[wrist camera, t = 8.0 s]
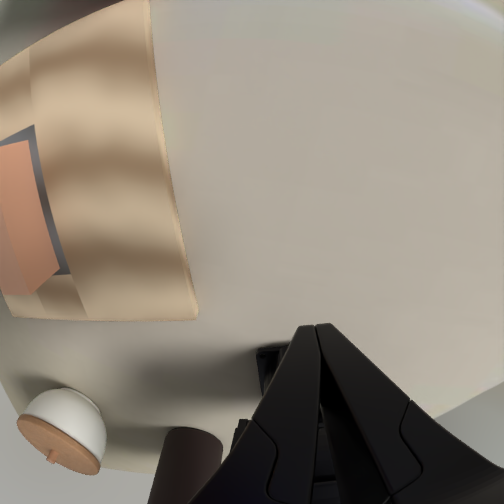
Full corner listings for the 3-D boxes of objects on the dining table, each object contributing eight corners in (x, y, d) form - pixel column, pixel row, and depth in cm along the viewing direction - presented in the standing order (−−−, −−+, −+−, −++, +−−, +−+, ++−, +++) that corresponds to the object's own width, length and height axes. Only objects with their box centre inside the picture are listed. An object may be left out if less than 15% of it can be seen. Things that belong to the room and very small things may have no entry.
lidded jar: (110, 438, 32) (89, 492, 24) (43, 399, 31) (15, 448, 22) (126, 407, 28) (99, 475, 20) (45, 358, 27) (4, 417, 18)
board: (199, 310, 22) (195, 320, 21) (19, 310, 24) (12, 316, 23) (149, 0, 13) (142, -6, 12) (-34, 99, 15) (-43, 100, 14)
